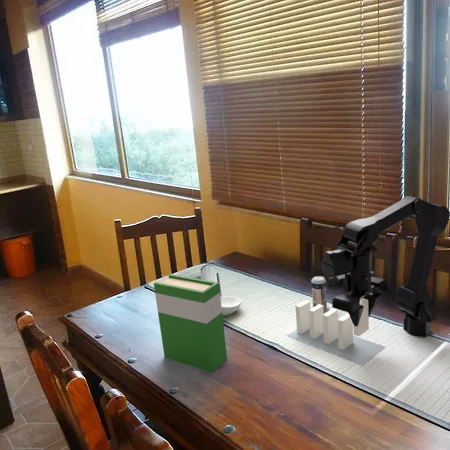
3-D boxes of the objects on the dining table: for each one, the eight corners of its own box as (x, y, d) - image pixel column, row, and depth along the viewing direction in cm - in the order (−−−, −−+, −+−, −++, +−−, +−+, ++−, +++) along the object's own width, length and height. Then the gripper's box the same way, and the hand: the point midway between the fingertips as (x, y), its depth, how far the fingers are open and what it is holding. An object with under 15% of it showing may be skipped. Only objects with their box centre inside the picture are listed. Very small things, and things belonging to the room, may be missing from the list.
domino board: (385, 349, 131) (385, 346, 131) (362, 368, 124) (362, 365, 123) (311, 323, 150) (310, 320, 150) (287, 338, 142) (286, 335, 142)
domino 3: (338, 337, 138) (337, 309, 136) (328, 344, 135) (327, 316, 133) (334, 335, 139) (332, 308, 137) (324, 342, 136) (322, 314, 134)
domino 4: (353, 342, 135) (352, 314, 132) (343, 349, 131) (342, 321, 129) (348, 341, 136) (347, 313, 133) (338, 348, 133) (337, 319, 130)
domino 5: (368, 329, 129) (368, 299, 127) (358, 336, 126) (358, 306, 124) (363, 327, 131) (363, 298, 128) (353, 334, 127) (352, 304, 125)
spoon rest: (224, 301, 173) (222, 284, 171) (248, 309, 165) (247, 290, 163) (177, 328, 156) (174, 308, 155) (202, 337, 149) (199, 317, 147)
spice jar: (327, 314, 155) (325, 281, 152) (312, 314, 156) (311, 281, 153) (327, 307, 160) (325, 275, 156) (313, 307, 161) (311, 275, 158)
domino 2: (324, 332, 142) (323, 305, 139) (314, 339, 139) (313, 311, 136) (320, 330, 143) (319, 304, 141) (310, 337, 140) (308, 310, 137)
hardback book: (164, 357, 139) (153, 283, 132) (180, 345, 144) (170, 274, 138) (212, 372, 129) (203, 292, 122) (227, 359, 134) (219, 282, 128)
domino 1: (311, 327, 145) (309, 301, 143) (301, 334, 142) (299, 307, 140) (307, 326, 147) (305, 300, 144) (297, 332, 143) (295, 305, 141)
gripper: (352, 253, 135) (354, 302, 139) (313, 273, 123) (316, 326, 128) (388, 260, 127) (388, 312, 131) (350, 283, 115) (352, 339, 119)
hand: (361, 322), depth 128 cm, fingers closed on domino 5, 5 cm apart
